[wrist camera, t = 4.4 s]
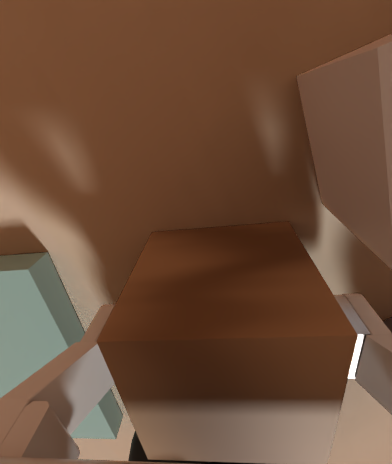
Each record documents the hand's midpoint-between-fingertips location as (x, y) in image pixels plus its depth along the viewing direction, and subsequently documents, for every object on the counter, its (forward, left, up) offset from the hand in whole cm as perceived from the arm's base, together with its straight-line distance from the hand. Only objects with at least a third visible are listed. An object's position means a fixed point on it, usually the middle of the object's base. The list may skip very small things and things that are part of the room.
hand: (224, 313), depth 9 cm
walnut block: (0, 0, -2) cm, 2 cm away
